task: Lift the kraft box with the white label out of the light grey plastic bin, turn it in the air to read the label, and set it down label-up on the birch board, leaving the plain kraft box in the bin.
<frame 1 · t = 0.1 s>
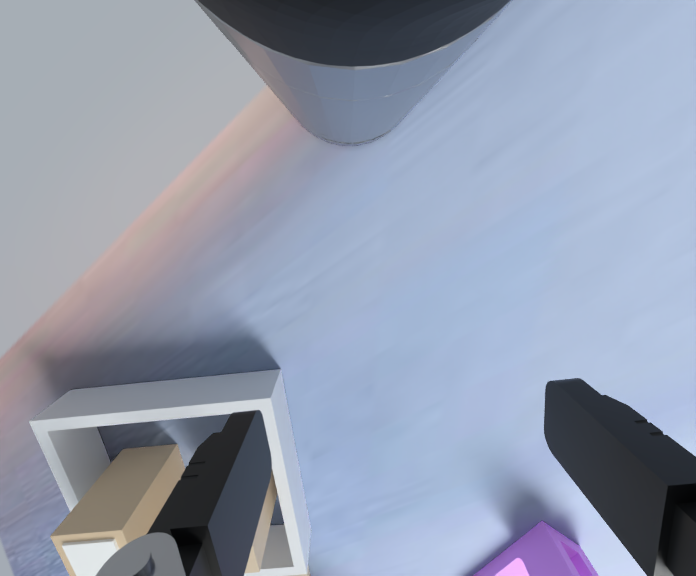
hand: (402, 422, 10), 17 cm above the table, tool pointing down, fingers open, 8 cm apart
bracket: (512, 566, 36), on the table
labelled box: (157, 468, 32), resting in bin
bin: (200, 465, 32), on the table
plain box: (248, 460, 32), resting in bin
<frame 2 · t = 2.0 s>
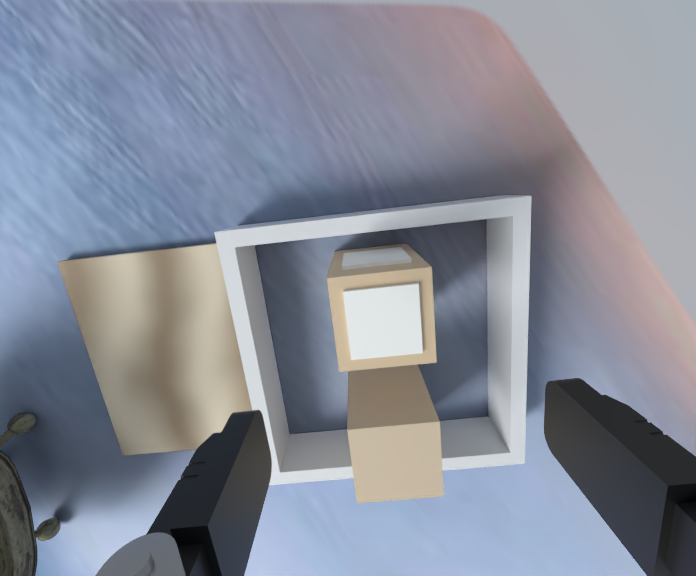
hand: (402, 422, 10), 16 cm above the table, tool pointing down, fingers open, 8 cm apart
board: (176, 354, 26), on the table
labelled box: (373, 281, 25), resting in bin
tabletop clock: (15, 467, 30), on the table
bin: (378, 333, 26), on the table
plain box: (383, 386, 27), resting in bin
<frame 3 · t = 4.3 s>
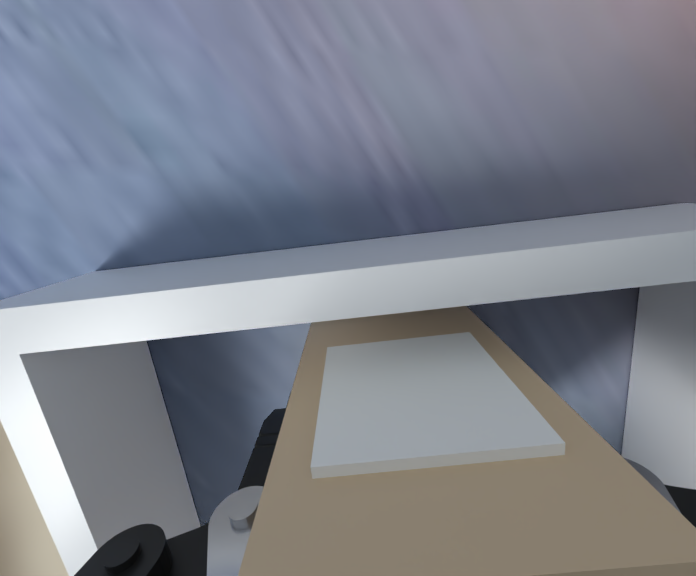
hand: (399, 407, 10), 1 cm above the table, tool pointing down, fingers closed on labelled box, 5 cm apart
board: (3, 515, 13), on the table
labelled box: (394, 382, 12), resting in bin, touching gripper
bin: (402, 478, 13), on the table
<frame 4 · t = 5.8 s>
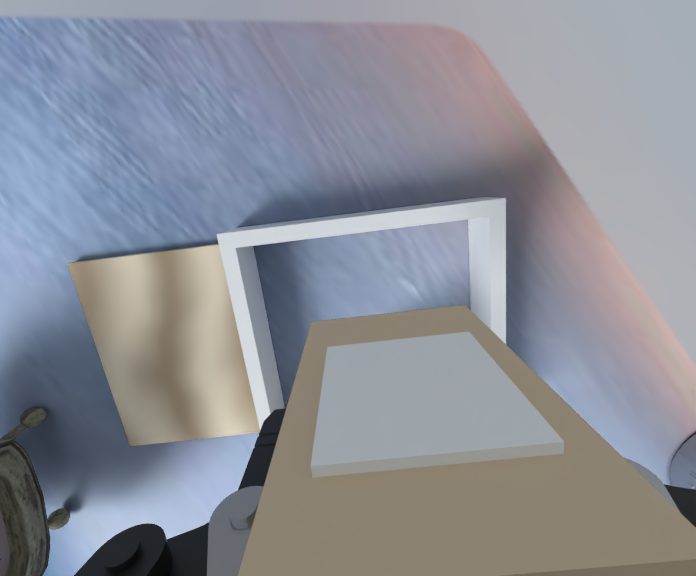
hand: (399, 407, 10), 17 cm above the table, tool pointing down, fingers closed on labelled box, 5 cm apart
board: (180, 349, 28), on the table
labelled box: (394, 381, 12), point 15 cm above the table, touching gripper
tabletop clock: (26, 460, 31), on the table
bin: (370, 327, 28), on the table
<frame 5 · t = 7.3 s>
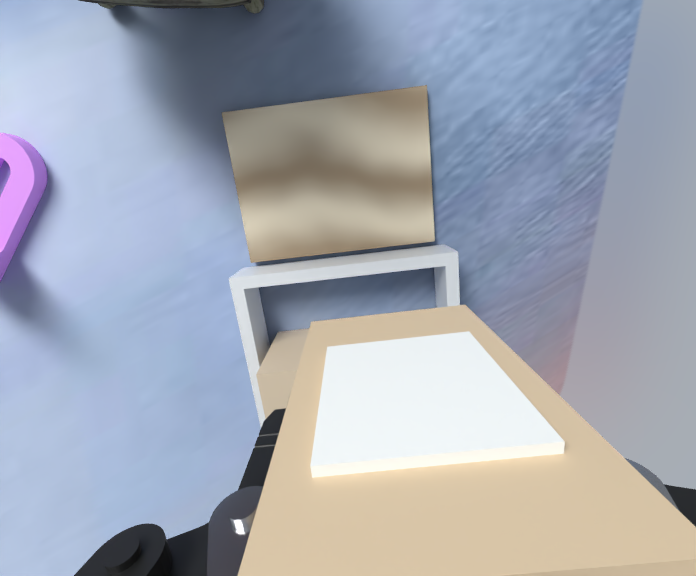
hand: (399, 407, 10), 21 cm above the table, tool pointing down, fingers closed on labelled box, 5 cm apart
bracket: (0, 206, 30), on the table
board: (333, 180, 29), on the table
labelled box: (394, 381, 12), point 20 cm above the table, touching gripper
bin: (354, 348, 33), on the table
plain box: (308, 352, 33), resting in bin
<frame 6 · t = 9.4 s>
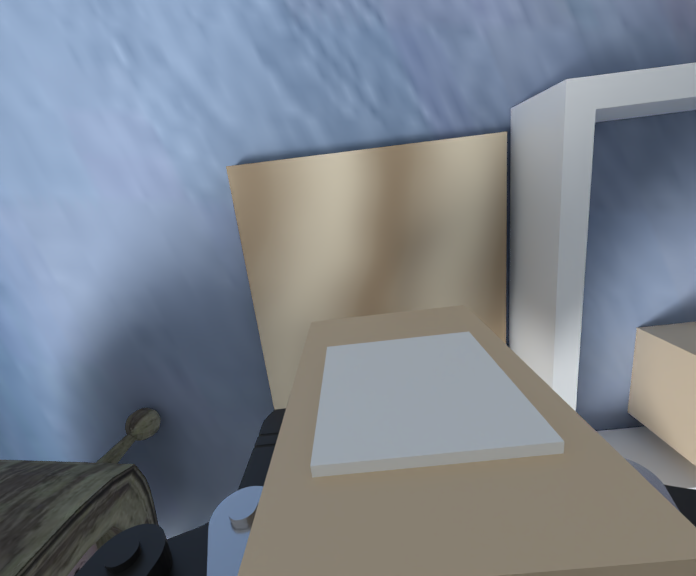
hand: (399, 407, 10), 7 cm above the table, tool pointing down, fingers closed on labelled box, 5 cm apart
board: (380, 318, 18), on the table
labelled box: (394, 381, 12), point 6 cm above the table, touching gripper
tabletop clock: (119, 486, 21), on the table
bin: (693, 284, 17), on the table
plain box: (680, 366, 18), resting in bin
when the fingers open (4 cm above the table, at t = 10.8 s): labelled box drops 1 cm, resting on board.
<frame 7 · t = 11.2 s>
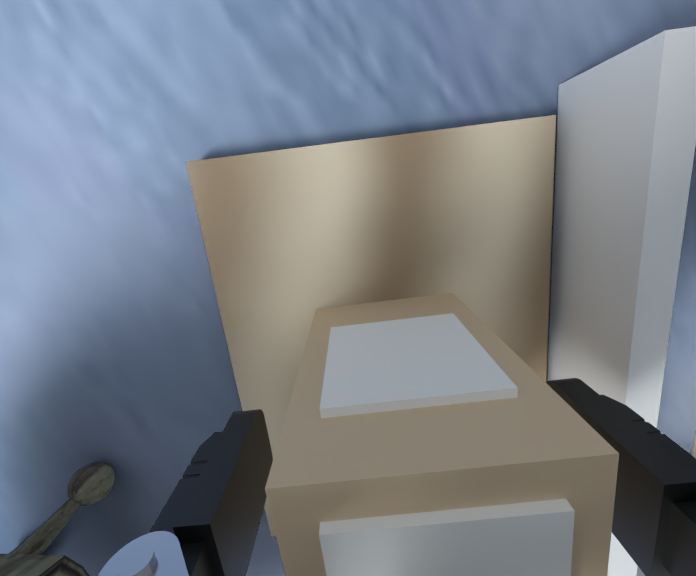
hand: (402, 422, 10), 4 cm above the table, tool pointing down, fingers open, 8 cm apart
board: (386, 353, 14), on the table
labelled box: (390, 362, 13), point 1 cm above the table, touching board
tabletop clock: (70, 550, 17), on the table
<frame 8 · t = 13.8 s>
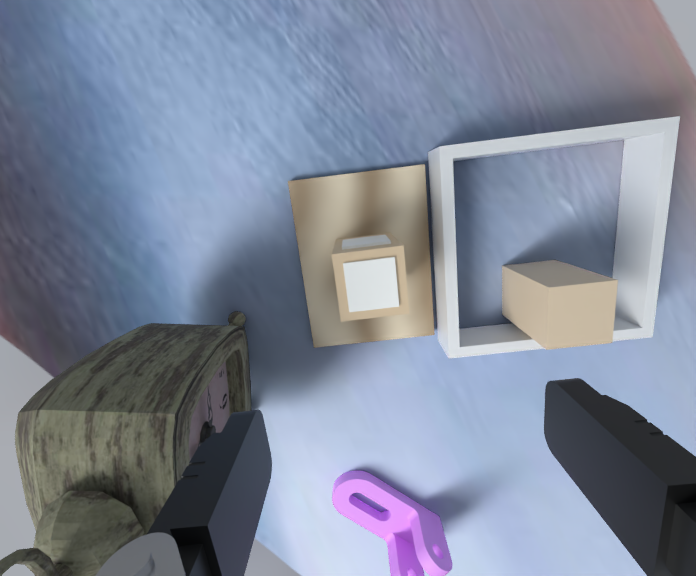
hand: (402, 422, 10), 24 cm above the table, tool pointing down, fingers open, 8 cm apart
bracket: (381, 502, 41), on the table
board: (365, 260, 33), on the table
labelled box: (366, 262, 32), point 1 cm above the table, touching board
tabletop clock: (216, 362, 36), on the table
bin: (529, 241, 32), on the table
plain box: (528, 287, 34), resting in bin
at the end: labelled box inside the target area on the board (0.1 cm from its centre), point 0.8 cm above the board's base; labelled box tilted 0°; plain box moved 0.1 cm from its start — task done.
